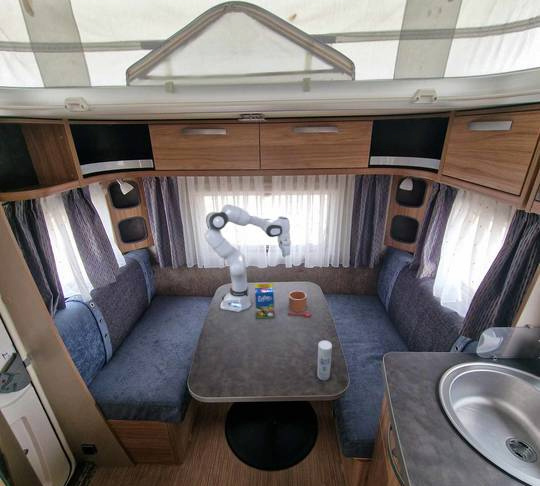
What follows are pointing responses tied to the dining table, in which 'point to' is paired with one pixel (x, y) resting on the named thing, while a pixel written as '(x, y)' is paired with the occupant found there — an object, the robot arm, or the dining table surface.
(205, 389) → the dining table surface
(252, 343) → the dining table surface
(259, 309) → the blue food package
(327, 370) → the spray can
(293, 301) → the copper pot
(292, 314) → the red spoon
